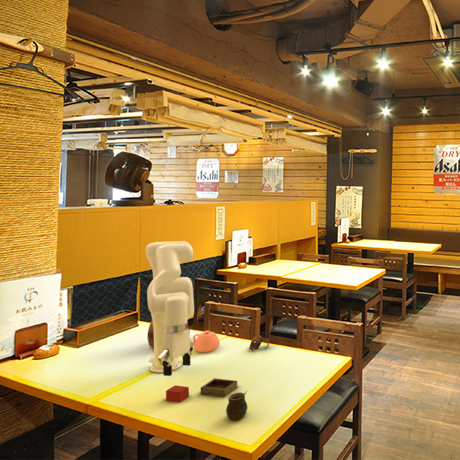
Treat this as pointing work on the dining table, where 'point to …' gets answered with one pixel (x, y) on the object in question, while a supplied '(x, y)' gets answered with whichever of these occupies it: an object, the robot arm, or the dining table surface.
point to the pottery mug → (258, 342)
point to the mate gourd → (236, 406)
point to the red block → (177, 393)
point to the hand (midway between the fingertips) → (177, 370)
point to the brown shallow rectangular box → (219, 387)
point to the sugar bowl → (206, 341)
